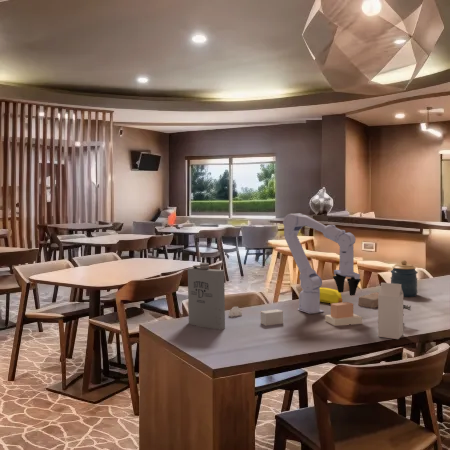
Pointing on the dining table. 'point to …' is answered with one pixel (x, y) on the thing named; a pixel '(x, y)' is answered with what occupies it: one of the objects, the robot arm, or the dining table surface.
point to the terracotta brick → (342, 309)
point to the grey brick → (271, 317)
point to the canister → (405, 278)
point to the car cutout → (235, 311)
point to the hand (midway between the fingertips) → (346, 293)
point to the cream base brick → (343, 320)
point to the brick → (369, 300)
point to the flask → (206, 297)
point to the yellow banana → (330, 296)
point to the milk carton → (390, 311)
